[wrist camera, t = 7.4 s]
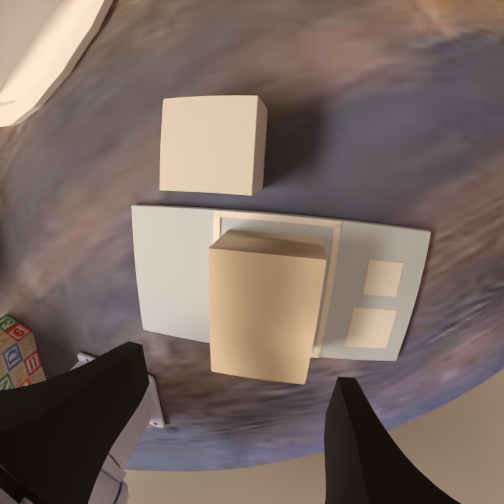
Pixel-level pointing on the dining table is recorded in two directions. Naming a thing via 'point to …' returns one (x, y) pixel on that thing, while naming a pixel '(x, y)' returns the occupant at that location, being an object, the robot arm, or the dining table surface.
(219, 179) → the beige maple block
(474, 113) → the dining table surface
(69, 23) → the white wedge on plate
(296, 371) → the birch block
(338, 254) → the board
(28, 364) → the stack of blocks
